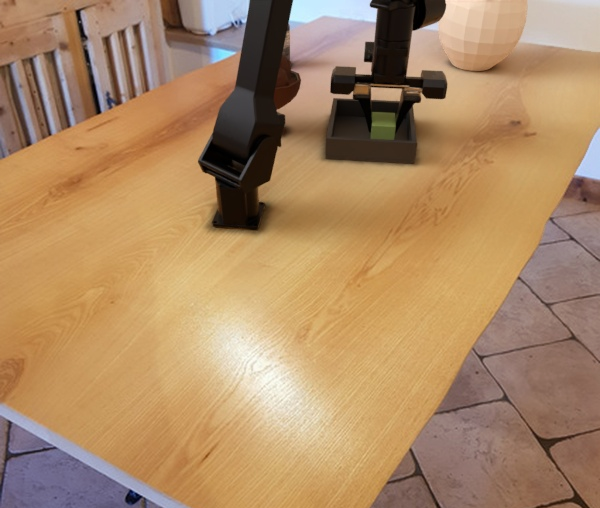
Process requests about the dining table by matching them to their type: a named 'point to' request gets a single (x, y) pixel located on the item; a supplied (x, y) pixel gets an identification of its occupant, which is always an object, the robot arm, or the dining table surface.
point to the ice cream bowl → (286, 85)
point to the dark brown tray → (368, 134)
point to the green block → (383, 125)
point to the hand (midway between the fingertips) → (382, 132)
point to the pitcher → (481, 31)
